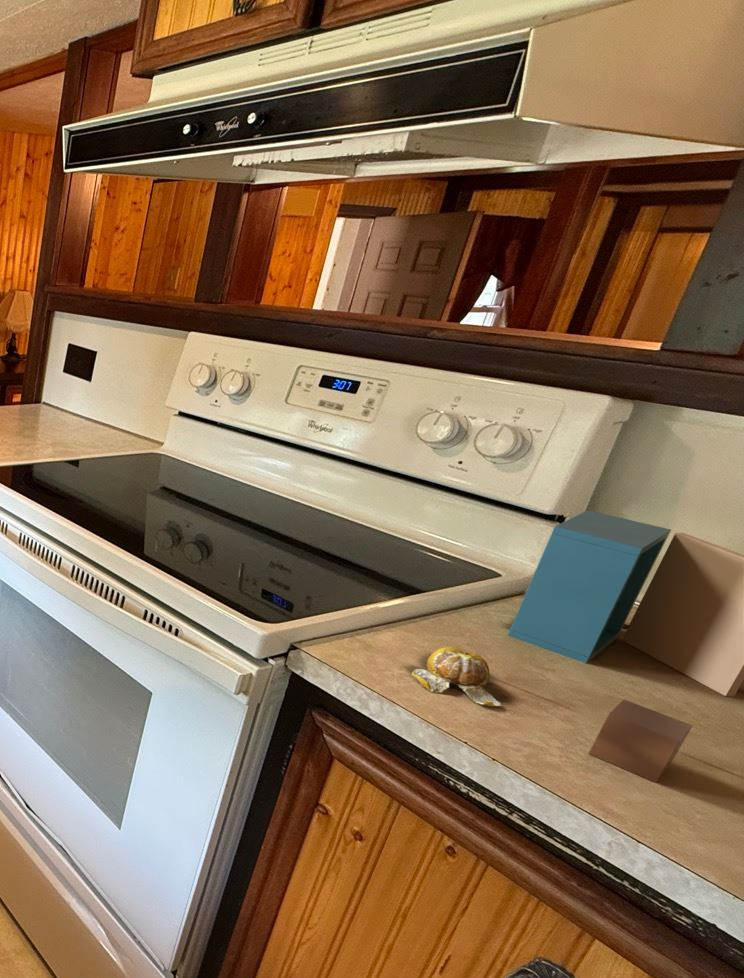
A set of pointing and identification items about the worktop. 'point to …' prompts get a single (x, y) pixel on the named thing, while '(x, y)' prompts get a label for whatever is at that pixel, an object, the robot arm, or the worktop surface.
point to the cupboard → (587, 584)
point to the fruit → (457, 674)
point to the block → (639, 740)
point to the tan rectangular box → (695, 614)
